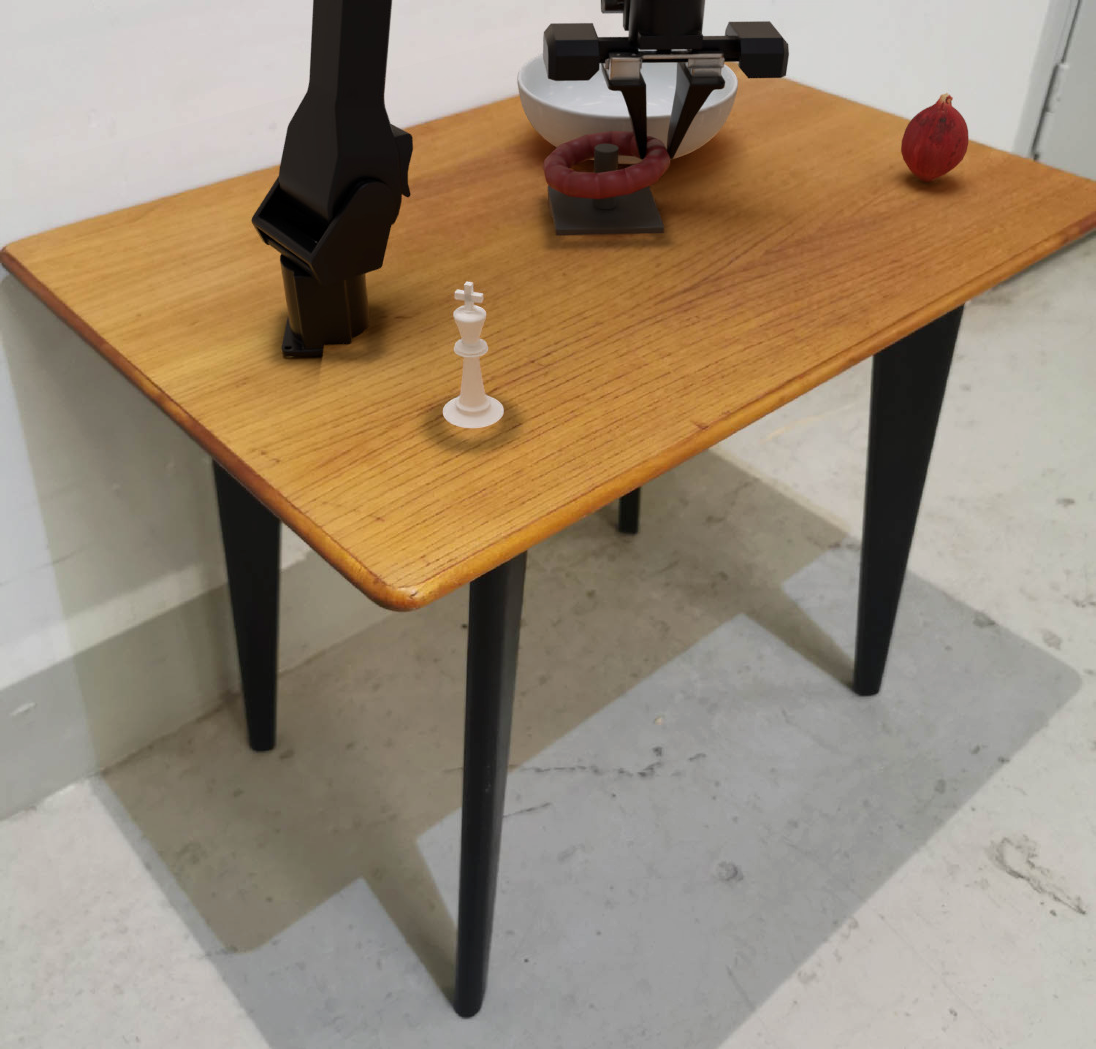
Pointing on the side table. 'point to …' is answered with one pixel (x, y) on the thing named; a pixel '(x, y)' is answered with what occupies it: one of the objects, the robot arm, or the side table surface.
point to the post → (605, 206)
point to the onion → (935, 140)
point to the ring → (604, 182)
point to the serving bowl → (617, 106)
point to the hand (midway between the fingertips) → (655, 157)
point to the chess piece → (471, 367)
